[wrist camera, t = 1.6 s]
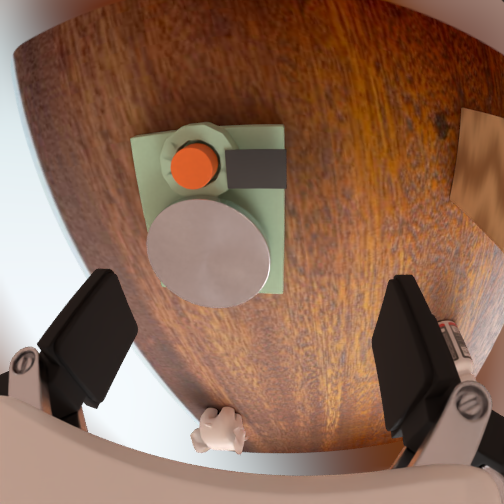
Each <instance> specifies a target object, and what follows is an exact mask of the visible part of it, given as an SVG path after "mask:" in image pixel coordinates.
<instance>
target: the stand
mask: <svg viewBox="0 0 504 504" xmlns="http://www.w3.org/2000/svg"><path fill="white" fill-rule="evenodd" d="M450 200H451V201H452V202H453V203H454V204H455V205H456V206H457V207H459V208H460V209H461V210H462V211H463V212H464V213H465V214H466V215H467V216H468V217H469V218H470V219H471V220H472V221H473V222H475V223H476V224H477V225H478V226H479V227H480V228H481V229H482V230H483V231H484V232H485V233H486V235H487V236H488V237H489V238H490V239H491V240H492V241H493V242H494V243H495V244H496V245H497V246H498V247H499V248H500V249H501V251H502V252H503V253H504V118H501V117H498V116H494V115H491V114H487V113H483V112H479V111H475V110H471V109H466V108H461V123H460V134H459V144H458V152H457V159H456V166H455V172H454V178H453V184H452V189H451V194H450Z"/></svg>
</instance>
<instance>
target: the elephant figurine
mask: <svg viewBox="0 0 504 504" xmlns="http://www.w3.org/2000/svg"><path fill="white" fill-rule="evenodd" d="M217 413H218V410H217V409H214V408H207V409H206V410H205V411H204V413H203V414H202V416H201V419H200V428H197V429H195V430H194V431H193V432H192V433H191V435H190V436H191V439H192V443H193V446H194V448H195V450H196V452H198V453H203V452H206V451H208V450H209V449H213V450H235V452H236V453H237V454H241V453H242V449H243V445H244V441H245V440H247V439H248V438H249V437H246V438H245V433H246V432H245V430H244V427H243V425H242V417H241V415H239V414H235V411H234V409H233V408H231V407H223V408H222V410H221V412H220V413H219V415H217Z"/></svg>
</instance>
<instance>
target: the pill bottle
mask: <svg viewBox="0 0 504 504" xmlns="http://www.w3.org/2000/svg"><path fill="white" fill-rule="evenodd" d="M438 324H439V326H440V329H441V331H442V333H443V336H444V338H445V340H446V343H447V345H448V348H449V350H450V353H451V355H452V358H453V361H454V363H455V366H456V369H457V371H458V374H459V377H460V380H461V382H464V381H467V380H473V381H476V379H475V377H474V375H472V374H471V373H472V371H473V361H472V358H471V356H470V354H469V351H468V349H467V347H466V345H465V342H464V340H463V338H462V336H461V334H460V331H459V329H458V327H457V325H456V324H455V323H454V322H452V321H441V322H438Z"/></svg>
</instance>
